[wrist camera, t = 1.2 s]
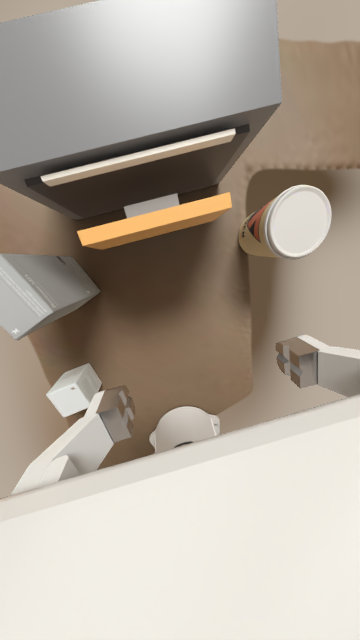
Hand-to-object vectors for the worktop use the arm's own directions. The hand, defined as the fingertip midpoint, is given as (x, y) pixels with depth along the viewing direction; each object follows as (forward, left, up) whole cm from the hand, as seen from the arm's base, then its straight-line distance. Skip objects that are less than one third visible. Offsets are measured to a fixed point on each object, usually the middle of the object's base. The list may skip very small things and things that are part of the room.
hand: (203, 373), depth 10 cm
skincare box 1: (+6, +18, -30) cm, 35 cm away
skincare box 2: (-14, +24, -30) cm, 41 cm away
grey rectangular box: (+20, 0, -30) cm, 36 cm away
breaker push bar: (+11, 0, -20) cm, 23 cm away
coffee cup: (+6, -19, -30) cm, 36 cm away
